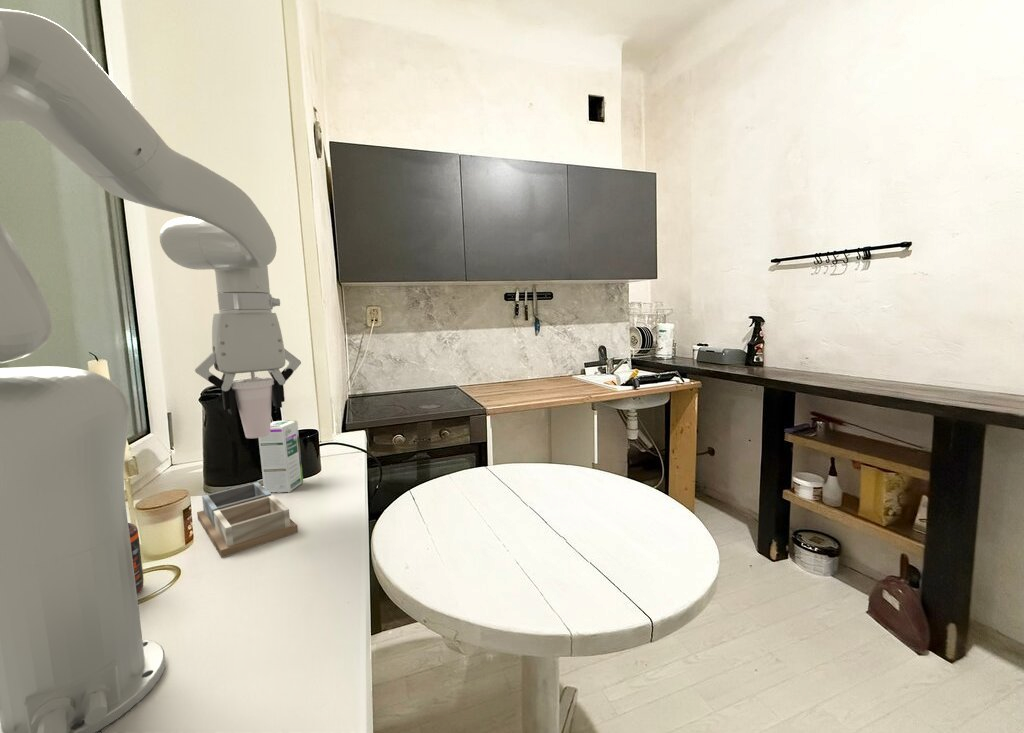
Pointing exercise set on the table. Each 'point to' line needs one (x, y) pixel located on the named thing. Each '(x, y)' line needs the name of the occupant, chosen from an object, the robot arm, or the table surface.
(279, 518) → the organizer
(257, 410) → the smoothie
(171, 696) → the table surface
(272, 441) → the syrup box
